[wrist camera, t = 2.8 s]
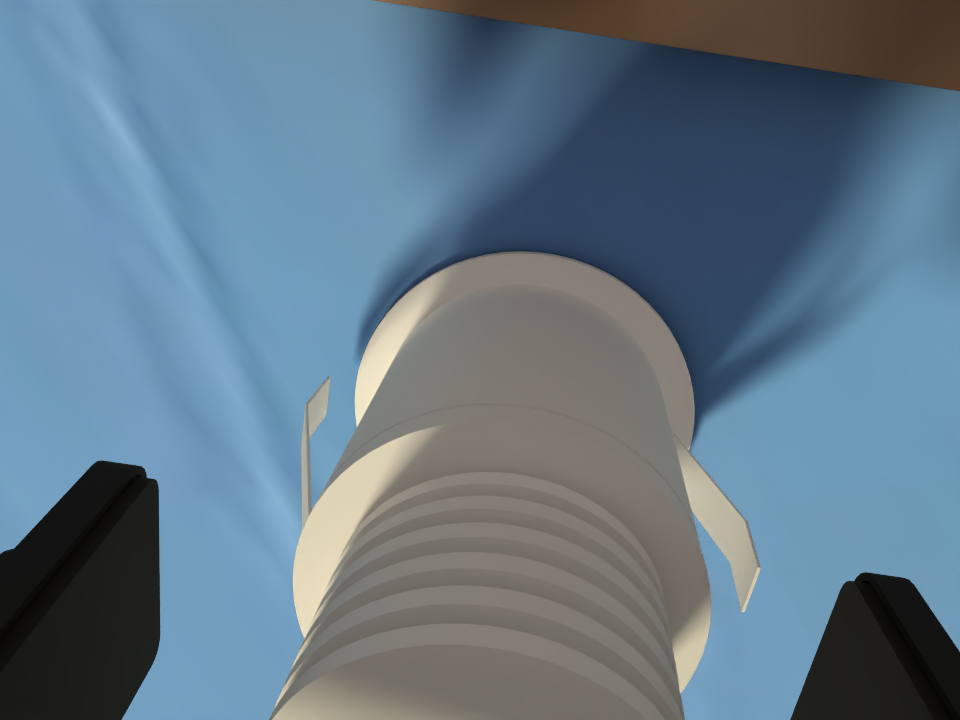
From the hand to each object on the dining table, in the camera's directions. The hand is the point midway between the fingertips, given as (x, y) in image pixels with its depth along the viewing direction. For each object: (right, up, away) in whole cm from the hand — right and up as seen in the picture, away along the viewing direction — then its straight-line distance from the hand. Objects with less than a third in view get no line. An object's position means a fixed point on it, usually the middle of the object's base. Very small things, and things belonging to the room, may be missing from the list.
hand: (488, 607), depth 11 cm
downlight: (+1, +2, +6) cm, 7 cm away
